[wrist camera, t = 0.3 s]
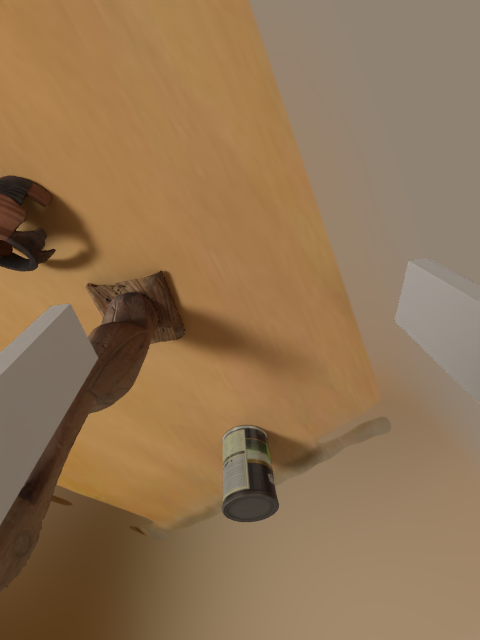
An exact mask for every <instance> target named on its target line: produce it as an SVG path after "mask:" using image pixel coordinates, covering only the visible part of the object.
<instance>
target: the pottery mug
mask: <svg viewBox="0 0 480 640" xmlns="http://www.w3.org/2000/svg"><path fill="white" fill-rule="evenodd" d="M25 197H29V198H31V199H33V200H34V201H36V202H37V203H39V204H40V205H42V206H43V207H47V206H48V204H49V201H50V200H51V198H52V196H51V194H49V193H48V192H47V191H46V190H44V189H43V188H42V187H40V186H38V185H36V184H35V183H32V182H31V181H29V180H26V179H24V178H21V177H16V176H5V177H2V178H0V239H2V240H0V266H1V267H5V268H8V269H12V270H16V271H33V270H35V269H36V268H37V267H38V264H40V263H43V262H46V261H47V260H48V259H49V258H50V257H51V256H52V255H53V254H54V252H55V251H56V250H55V249H51V250H45V251H41V250H42V249H43V248H44V246H45V239H46V238H47V235H46V233H45V231H44V230H43V229H42V228H38V229H36V230H35V231H27V232H22V231H16V229H17V228H18V227H19V225H20V224H21V223H22V222H23V221H25V220H26V219H27V217H26V216H27V213H26V210H25V209H24V208H23V207H22V206H21V205H22V204H23V200H24V198H25ZM6 241H7V242H6ZM12 245H13V246H15V247H17V248H18V249H20V250H21V251H22V252H23V253H24V254H25V255H26V256H27V257H28V258H29V259H25V258H23V257H21V256H19V255H17V254H15V253H13V252H12V251H13V248H12Z"/></svg>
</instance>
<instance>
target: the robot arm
mask: <svg viewBox="0 0 480 640" xmlns="http://www.w3.org/2000/svg"><path fill="white" fill-rule="evenodd" d="M394 321H395V322H396V323H397V324H398V325H399V326H400V327H401V328H402V329H403V330H404V331H405V332H407V334H408V335H409V336H410V337H411V338H413V339H414V340H415V341H416V342H417V343H418V344H419V345H420V346H421V347H422V348H423V349H424V350H425V351H426V352H427V353H428V354H429V355H430V356H431V357H432V358H433V359H434V360H435V361H436V362H437V363H438V364H439V365H440V366H441V367H442V368H443V369H444V370H445V371H446V372H447V373H448V374H449V375H450V376H451V377H452V378H453V379H454V380H455V381H456V382H458V384H460V385H461V386H462V387H463V388H464V389H465V390H466V391H467V392H468V393H469V394H470V395H471V396H472V397H473V398H474V399H475V400H476V401H477V402H478V403H479V404H480V285H479V284H478V283H476V282H474V281H472V280H470V279H468V278H466V277H464V276H462V275H460V274H458V273H456V272H454V271H452V270H450V269H449V268H447V267H444V266H443V265H440V264H439V263H437V262H435V261H433V260H431V259H429V258H427V259H419V260H410V261H409V262H408V266H407V270H406V274H405V278H404V283H403V287H402V291H401V295H400V299H399V304H398V308H397V312H396V316H395V320H394ZM97 359H98V356H97V354H96V352H95V351H94V349H93V347H92V345H91V343H90V341H89V339H88V337H87V335H86V333H85V331H84V329H83V327H82V325H81V323H80V321H79V319H78V317H77V316H76V314H75V312H74V310H73V308H72V306H71V304H64V305H56V306H50V307H49V308H48V309H47V310H46V311H45V312H44V313H43V314H42V315H41V316H40V317H38V318H37V319H36V320H35V321H34V322H33V323H32V324H31V325H30V326H29V327H28V328H27V329H25V330H24V331H23V332H22V333H21V334H20V335H19V336H18V337H17V338H16V339H15V340H13V341H12V342H11V343H10V344H9V345H8V346H7V347H6V348H5V349H4V350H3V351H2V352H0V525H1V523H2V521H3V520H4V518H5V516H6V515H7V513H8V511H9V509H10V508H11V506H12V504H13V503H14V501H15V499H16V498H17V496H18V494H19V492H20V491H21V489H22V487H23V486H24V484H25V482H26V480H27V479H28V477H29V475H30V474H31V472H32V470H33V469H34V467H35V465H36V463H37V462H38V460H39V458H40V457H41V455H42V453H43V451H44V450H45V448H46V446H47V445H48V443H49V441H50V440H51V438H52V436H53V434H54V433H55V431H56V429H57V428H58V426H59V424H60V422H61V421H62V419H63V417H64V416H65V414H66V412H67V411H68V409H69V407H70V405H71V404H72V402H73V400H74V399H75V397H76V395H77V394H78V392H79V390H80V388H81V387H82V385H83V383H84V382H85V380H86V378H87V376H88V375H89V373H90V371H91V370H92V368H93V366H94V365H95V363H96V361H97Z"/></svg>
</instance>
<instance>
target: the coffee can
mask: <svg viewBox="0 0 480 640" xmlns="http://www.w3.org/2000/svg"><path fill="white" fill-rule="evenodd" d="M278 508H279V503H278V500H277V495H276V489H275V483H274V477H273V471H272V465H271V458H270V452H269V446H268V437H267V434H266V432H265V431H264V430H263V429H261V428H259V427H256V426H251V425H243V426H238V427H235V428H232V429H230V430H229V431H227V432H226V434H225V435H224V437H223V506H222V512H223V514H224V515H225V516H226V517H227V518H229V519H231V520H234V521H239V522H254V521H259V520H263V519H266V518H268V517H270V516H272V515H273V514H275V512H277V510H278Z"/></svg>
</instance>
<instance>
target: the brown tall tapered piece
mask: <svg viewBox="0 0 480 640" xmlns="http://www.w3.org/2000/svg"><path fill="white" fill-rule="evenodd" d="M127 282H128V283H129V284H127ZM120 283H121V282H120ZM120 283H119V282H118V283H116V285H117V286H115V287H112V288H113V289H111V287H109V286H110V285H105V286H104V285H102V286H97V287H93V286H90V285H89V283H88V284H86V289H87V291H88V292H89V294H90V296H91V297H92V299H93V301H94V303H95V305H96V306H97V308H98V310H99V312H100V313H101V315H102V317H103V320H102V324H101V325H100V326H98V327H97V328H95V329H94V330H93V331H92V332H91V333H90V335H89V336H88V339H89V341H90V343H91V345H92V347H93V349H94V351H95V352H96V354H97V356H98V359H97V361H96V363H95V365H94V366H93V368H92V370H91V371H90V373H89V375H88V376H87V378H86V380H85V382H84V383H83V385H82V387H81V388H80V390H79V392H78V394H77V395H76V397H75V399H74V400H73V402H72V404H71V405H70V407H69V409H68V411H67V412H66V414H65V416H64V417H63V419H62V421H61V422H60V424H59V426H58V428H57V429H56V431H55V433H54V434H53V436H52V438H51V440H50V441H49V443H48V445H47V446H46V448H45V450H44V451H43V453H42V455H41V457H40V458H39V460H38V462H37V463H36V465H35V467H34V469H33V470H32V472H31V474H30V475H29V477H28V479H27V480H26V482H25V484H24V486H23V487H22V489H21V491H20V492H19V494H18V496H17V498H16V499H15V501H14V503H13V504H12V506H11V508H10V509H9V511H8V513H7V515H6V516H5V518H4V520H3V521H2V523H1V525H0V591H2V590H3V589H4V588H5V587H8V585H9V584H10V583H11V581H12V580H13V579H14V578H15V577H16V576H17V575H18V574H19V573H20V572H21V570H22V568H23V567H24V566H25V565H26V562H27V560H28V559H29V558H30V556H31V554H32V552H33V550H34V548H35V546H36V544H37V542H38V539H39V534H40V530H41V528H42V526H41V525H42V520H43V519H44V517H45V515H46V512H47V510H48V508H49V505H50V502H51V497H52V495H53V493H54V488H55V486H56V484H57V481H58V478H59V476H60V474H61V471H62V468H63V466H64V463H65V461H66V459H67V456H68V454H69V452H70V450H71V448H72V446H73V444H74V442H75V440H76V437H77V435H78V434H79V432H80V430H81V428H82V425H83V424H84V422H85V420H86V418H87V416H88V414H90V413H93V412H97V411H100V410H103V409H105V408H107V407H109V406H111V405H112V404H114V403H115V402H116V401H118V400H119V399H120V398H121V397H123V396H124V395H125V394H126V393H127V392H128V391H129V390H130V389H131V387H132V386H133V384H134V382H135V380H136V378H137V376H138V374H139V371H140V369H141V366H142V364H143V362H144V360H145V357H146V354H147V352H148V349H149V345H150V344H153V343H156V342H163V341H164V342H165V341H170V340H175V339H176V340H177V339H180V338H181V337H183V336H184V331H185V329H183V324H182V322H181V319H180V315H178V312H177V309H176V306H175V305H174V304H175V303H174V300H173V298H172V295H171V293H170V290H169V288H168V286H167V283H166V280H165V277H163V271H160V272H158V273H156V274H154V275H151V276H148V277H146V278H141V279H134V280H131V281H130V280H129V281H123V282H122V283H121V284H122V285H124V286H126V288H125V287H122V286H121V285H120ZM125 284H127V285H125ZM118 286H120V287H121V288H120V287H118ZM118 289H119V290H120V291H121V294H122V295H121V294H120V291H117V290H118ZM125 289H126V290H125ZM114 290H115V291H114ZM117 292H118V294H117V295H115V293H117ZM144 294H145V295H146V296H147V297H145V295H144ZM109 296H110V297H109ZM153 297H154V299H153ZM149 298H150V299H151V301H150V299H149ZM109 300H112V301H111V302H109ZM153 304H154V305H153ZM157 311H158V313H157ZM158 314H159V315H158ZM158 318H160V320H158ZM157 323H159V324H157ZM157 328H158V329H160V330H158V329H157ZM156 329H157V330H156ZM163 330H164V331H163ZM168 332H169V333H168ZM167 339H168V340H167Z"/></svg>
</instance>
